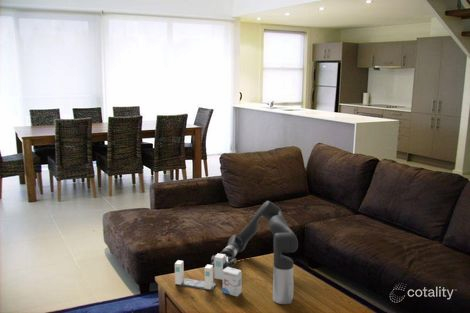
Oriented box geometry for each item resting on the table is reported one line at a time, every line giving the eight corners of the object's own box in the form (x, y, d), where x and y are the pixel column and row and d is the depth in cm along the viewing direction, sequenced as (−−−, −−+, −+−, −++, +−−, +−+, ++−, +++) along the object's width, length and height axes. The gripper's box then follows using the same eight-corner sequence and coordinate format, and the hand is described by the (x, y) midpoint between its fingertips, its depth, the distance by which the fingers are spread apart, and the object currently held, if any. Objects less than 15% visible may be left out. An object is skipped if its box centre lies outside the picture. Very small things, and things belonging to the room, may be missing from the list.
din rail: (216, 284, 220) (216, 283, 220) (212, 290, 215) (212, 288, 215) (180, 279, 226) (180, 277, 226) (175, 284, 221) (175, 282, 220)
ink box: (221, 292, 213) (221, 270, 210) (226, 288, 217) (226, 266, 215) (237, 297, 209) (237, 274, 206) (241, 292, 213) (242, 270, 211)
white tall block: (225, 275, 231) (225, 254, 229) (222, 279, 226) (222, 258, 224) (217, 274, 232) (217, 253, 230) (214, 278, 227) (214, 257, 225)
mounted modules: (213, 285, 217) (213, 265, 215) (210, 289, 214) (210, 268, 212) (178, 280, 223) (178, 260, 221) (175, 283, 219) (174, 263, 217)
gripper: (216, 246, 243) (205, 258, 227) (240, 249, 238) (231, 261, 223) (216, 258, 244) (205, 271, 228) (240, 262, 240) (231, 275, 224)
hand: (218, 266), depth 225 cm, fingers open, 5 cm apart
